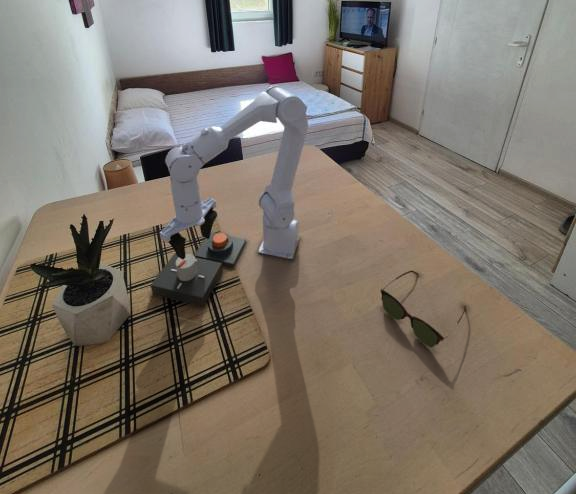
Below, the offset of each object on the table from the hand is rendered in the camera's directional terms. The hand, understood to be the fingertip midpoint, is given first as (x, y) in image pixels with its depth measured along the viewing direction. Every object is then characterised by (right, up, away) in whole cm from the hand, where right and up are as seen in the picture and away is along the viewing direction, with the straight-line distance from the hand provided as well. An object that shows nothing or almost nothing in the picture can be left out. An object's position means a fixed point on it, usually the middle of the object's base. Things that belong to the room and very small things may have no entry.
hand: (194, 246), depth 77 cm
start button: (+4, -3, +10) cm, 11 cm away
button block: (+4, -5, +11) cm, 12 cm away
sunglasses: (+53, -12, -4) cm, 54 cm away
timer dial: (-2, -6, 0) cm, 7 cm away
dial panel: (-2, -9, +1) cm, 9 cm away
